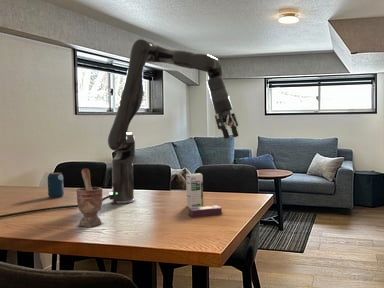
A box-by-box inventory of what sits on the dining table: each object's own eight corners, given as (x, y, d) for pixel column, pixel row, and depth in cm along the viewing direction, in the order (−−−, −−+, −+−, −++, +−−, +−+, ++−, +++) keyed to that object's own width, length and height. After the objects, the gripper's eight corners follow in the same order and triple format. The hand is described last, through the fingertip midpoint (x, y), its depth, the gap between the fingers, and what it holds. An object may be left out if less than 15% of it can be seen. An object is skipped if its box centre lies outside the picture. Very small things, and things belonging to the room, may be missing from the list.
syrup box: (190, 208, 164) (190, 175, 163) (186, 206, 169) (185, 173, 168) (203, 207, 166) (202, 174, 166) (198, 204, 172) (198, 172, 171)
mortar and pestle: (68, 223, 140) (66, 169, 139) (90, 219, 147) (88, 167, 146) (86, 228, 134) (84, 171, 133) (108, 223, 141) (106, 169, 140)
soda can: (66, 196, 193) (66, 172, 192) (53, 198, 187) (52, 174, 187) (58, 195, 197) (58, 171, 196) (45, 197, 191) (44, 173, 190)
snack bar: (192, 217, 149) (192, 210, 149) (189, 214, 154) (189, 207, 154) (221, 213, 155) (221, 207, 154) (217, 211, 159) (217, 205, 159)
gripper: (221, 104, 171) (231, 138, 171) (205, 103, 158) (216, 141, 158) (235, 98, 168) (246, 134, 168) (220, 98, 155) (231, 136, 155)
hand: (231, 137), depth 163 cm, fingers open, 8 cm apart
